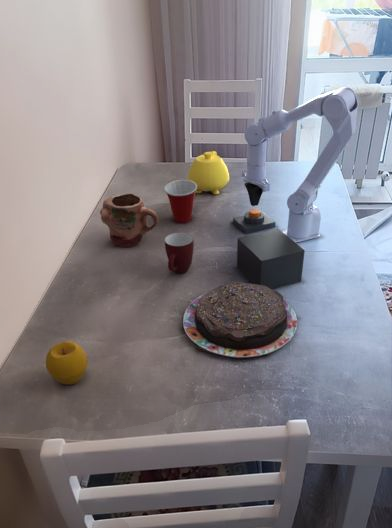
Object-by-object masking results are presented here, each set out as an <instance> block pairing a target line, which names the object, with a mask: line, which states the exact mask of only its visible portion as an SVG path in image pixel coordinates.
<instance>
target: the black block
mask: <svg viewBox="0 0 392 528" xmlns="http://www.w3.org/2000/svg"><path fill="white" fill-rule="evenodd" d="M282 231H283V230H281V229H280V228H273V229H269V230H265V231H261V232H257V233H252V234H248V235H244V236H241V237H240V236H239V237H237V239H236V269H237V270H238V271H239V273H241V274H242V276H243V277H244V278H245V279H246V280H247V281H248V282H249V284H258V285H264V286H266V287H268V288H270V289H272V290H275V289H278V288H282V287H286V286H289V285H290V286H291V285H294V284H296V283H300V282H302V276H303V269H304V259H305V252H306V251H305V249H304V248H302V246H300V245H299V244H298V243H295V242H294V241H293V240H292V239H290V238H289V237H288V236H287V235H285V234H284V233H283V232H282Z"/></svg>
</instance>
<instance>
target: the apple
mask: <svg viewBox="0 0 392 528" xmlns="http://www.w3.org/2000/svg"><path fill="white" fill-rule="evenodd" d="M45 367H46V369H47V372H48V374H49V375H50V376H51V377H52V378H53V380H55V381H57V382H58V383H60V384H63V385H67V386H70V385H75V384H77V383H78V382H80V381H81V380H82V378H83V376H84V375H85V373H86V371H87V368H88V356H87V355H86V352H85V351H84V349H83V348H82V346H80V344H78V343H77V342H75V341H70V340H66V341H62V342H58V343H56V344H55V345H54V346H52V347H51V348H50V349H49V350H48V352H47V353H46V356H45Z"/></svg>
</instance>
